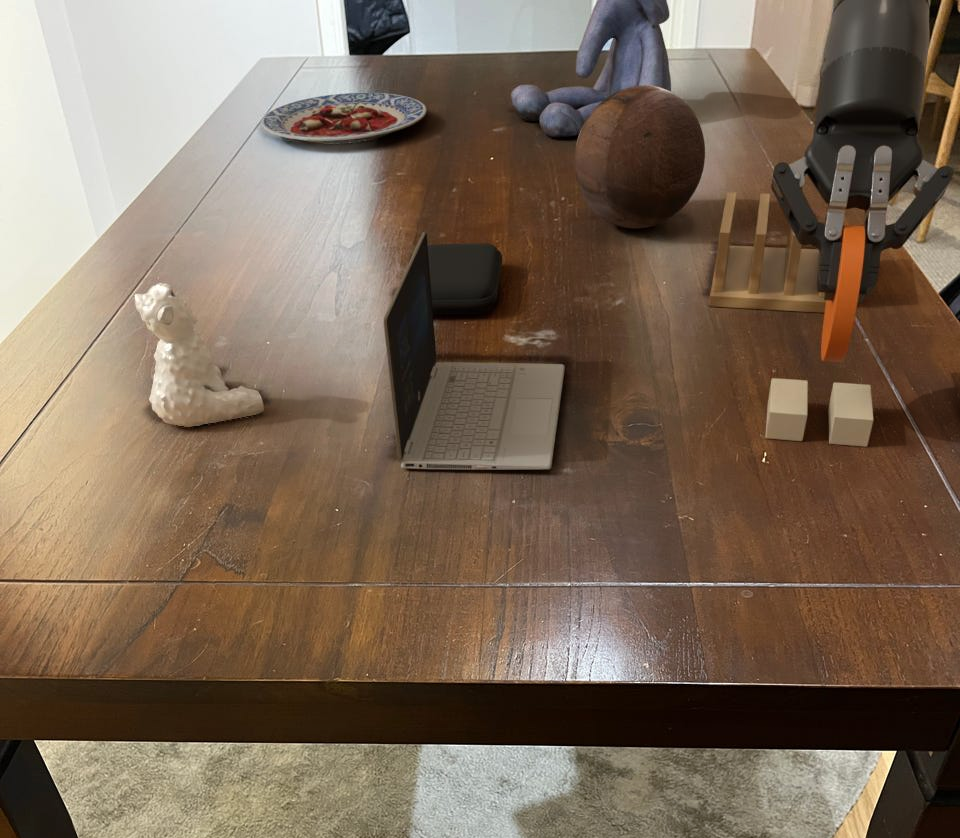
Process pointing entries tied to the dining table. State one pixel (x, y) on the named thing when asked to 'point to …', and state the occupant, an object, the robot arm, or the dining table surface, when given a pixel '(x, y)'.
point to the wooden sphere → (639, 156)
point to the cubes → (845, 412)
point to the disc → (844, 295)
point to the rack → (764, 269)
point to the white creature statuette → (187, 367)
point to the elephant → (631, 62)
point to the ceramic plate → (344, 117)
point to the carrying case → (464, 277)
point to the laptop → (462, 393)
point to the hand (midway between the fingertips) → (845, 296)
